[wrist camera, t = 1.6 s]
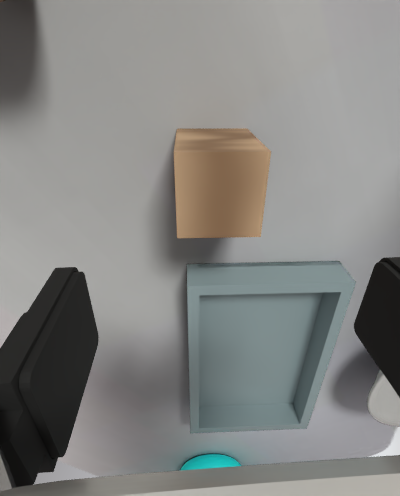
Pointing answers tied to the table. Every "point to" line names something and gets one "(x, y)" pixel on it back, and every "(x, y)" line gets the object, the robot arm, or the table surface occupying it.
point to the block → (219, 183)
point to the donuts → (210, 462)
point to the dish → (384, 402)
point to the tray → (261, 341)
